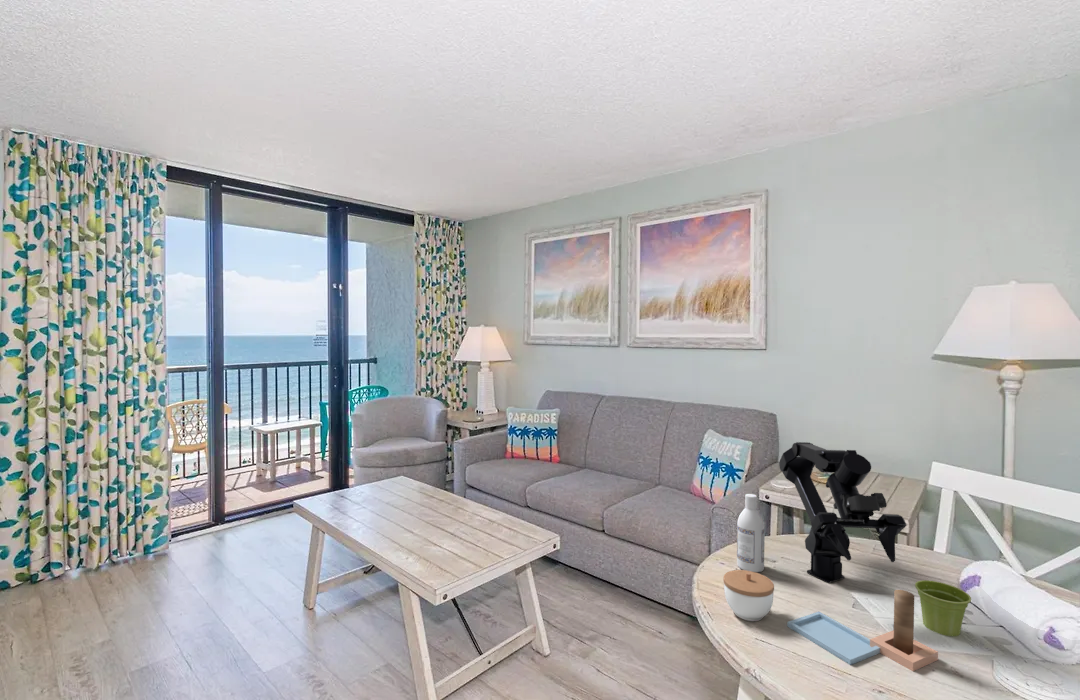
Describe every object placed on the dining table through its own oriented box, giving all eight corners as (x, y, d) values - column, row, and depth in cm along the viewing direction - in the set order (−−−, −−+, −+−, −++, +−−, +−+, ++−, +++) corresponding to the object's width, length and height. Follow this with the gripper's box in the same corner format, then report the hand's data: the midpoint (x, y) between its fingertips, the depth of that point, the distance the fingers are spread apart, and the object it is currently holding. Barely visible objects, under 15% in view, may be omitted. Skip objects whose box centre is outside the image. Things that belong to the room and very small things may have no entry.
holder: (869, 650, 101) (870, 639, 101) (894, 640, 104) (894, 629, 104) (912, 674, 94) (913, 662, 94) (937, 662, 97) (938, 651, 97)
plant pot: (944, 617, 113) (944, 579, 113) (982, 643, 103) (983, 601, 103) (903, 618, 113) (904, 580, 112) (938, 644, 103) (939, 602, 103)
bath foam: (754, 560, 141) (755, 490, 141) (769, 572, 135) (770, 498, 134) (731, 562, 140) (732, 492, 140) (745, 574, 134) (746, 500, 133)
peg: (889, 650, 100) (890, 591, 100) (899, 646, 101) (900, 588, 101) (906, 660, 97) (908, 599, 97) (916, 655, 98) (918, 595, 98)
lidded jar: (735, 596, 122) (735, 558, 122) (781, 613, 114) (781, 573, 114) (714, 613, 115) (715, 573, 114) (762, 633, 107) (762, 590, 107)
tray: (787, 629, 108) (787, 621, 108) (818, 618, 113) (818, 611, 113) (850, 668, 96) (850, 659, 96) (883, 654, 100) (883, 646, 100)
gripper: (817, 478, 117) (840, 544, 106) (902, 480, 115) (934, 547, 104) (802, 500, 125) (822, 564, 114) (881, 503, 123) (909, 567, 112)
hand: (871, 560), depth 111 cm, fingers open, 9 cm apart
